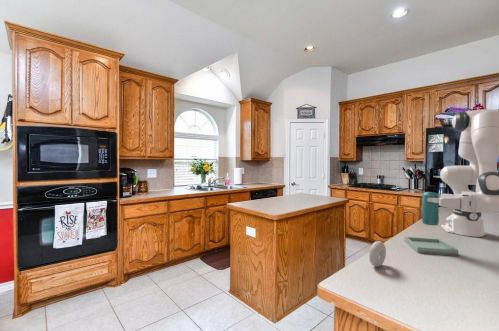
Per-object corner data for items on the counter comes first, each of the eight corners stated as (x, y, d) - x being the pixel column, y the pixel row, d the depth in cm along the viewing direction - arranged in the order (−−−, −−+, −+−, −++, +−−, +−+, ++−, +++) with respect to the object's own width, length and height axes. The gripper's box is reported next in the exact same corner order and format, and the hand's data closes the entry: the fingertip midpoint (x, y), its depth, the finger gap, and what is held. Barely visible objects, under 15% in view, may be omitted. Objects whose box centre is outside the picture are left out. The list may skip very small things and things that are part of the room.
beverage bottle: (441, 229, 115) (442, 186, 114) (425, 228, 116) (426, 185, 116) (434, 225, 121) (434, 184, 121) (418, 224, 123) (419, 184, 122)
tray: (404, 241, 129) (404, 236, 129) (439, 243, 125) (439, 238, 125) (417, 252, 113) (417, 247, 113) (458, 256, 110) (458, 250, 109)
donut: (376, 271, 94) (376, 245, 94) (367, 268, 97) (367, 243, 97) (387, 264, 101) (387, 239, 101) (378, 261, 104) (378, 237, 103)
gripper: (466, 192, 118) (430, 189, 127) (466, 197, 102) (425, 194, 111) (465, 205, 118) (430, 202, 127) (466, 212, 102) (425, 207, 111)
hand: (428, 198), depth 119 cm, fingers closed on beverage bottle, 6 cm apart
